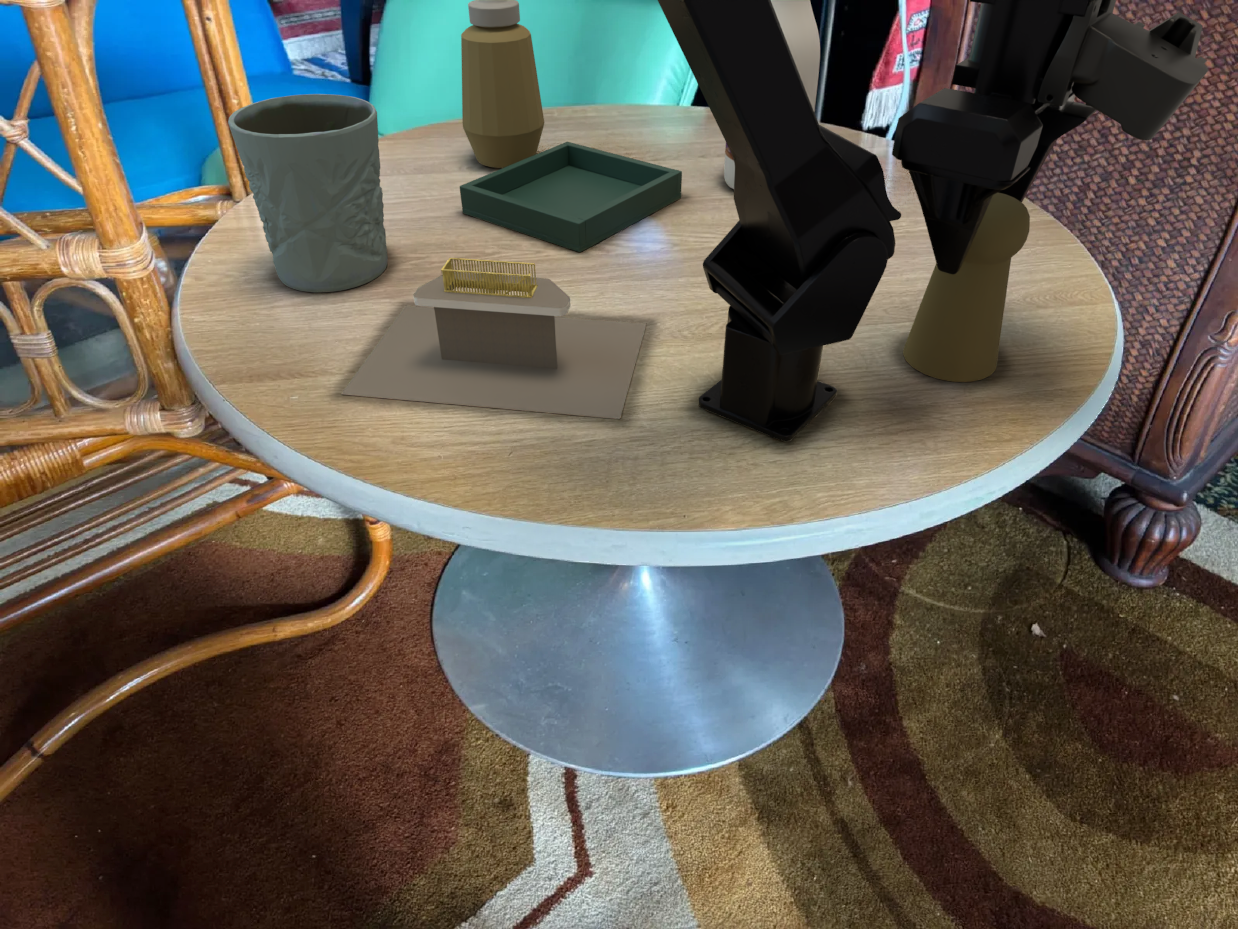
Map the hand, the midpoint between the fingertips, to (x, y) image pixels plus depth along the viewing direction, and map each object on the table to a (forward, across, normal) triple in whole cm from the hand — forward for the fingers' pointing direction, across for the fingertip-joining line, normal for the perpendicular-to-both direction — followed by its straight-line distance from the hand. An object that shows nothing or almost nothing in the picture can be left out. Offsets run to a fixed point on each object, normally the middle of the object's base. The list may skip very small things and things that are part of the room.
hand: (976, 245), depth 55 cm
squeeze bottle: (+8, +10, +50) cm, 52 cm away
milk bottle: (+8, +20, +26) cm, 34 cm away
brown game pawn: (+8, 0, 0) cm, 8 cm away
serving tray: (+8, +5, +37) cm, 38 cm away
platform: (+8, -18, +24) cm, 31 cm away
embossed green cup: (+8, -16, +44) cm, 47 cm away
